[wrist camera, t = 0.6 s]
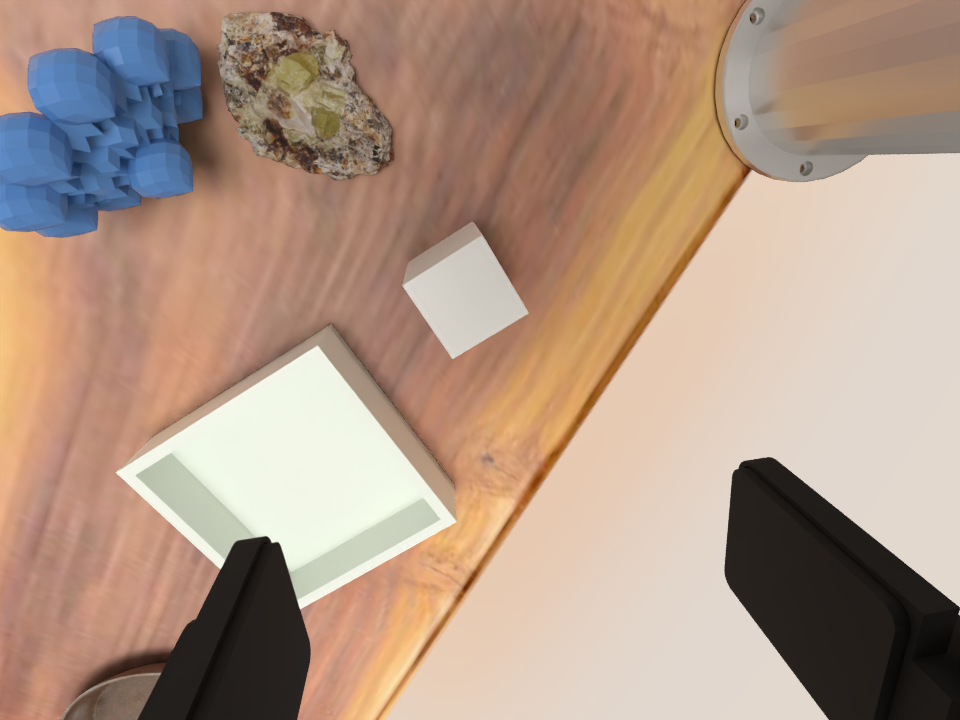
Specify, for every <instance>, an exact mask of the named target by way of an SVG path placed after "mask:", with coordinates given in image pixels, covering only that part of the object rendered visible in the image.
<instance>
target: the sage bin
mask: <svg viewBox="0 0 960 720" xmlns="http://www.w3.org/2000/svg"><path fill="white" fill-rule="evenodd" d="M116 473H117V474H118V475H119V476H120V477H121V478H122V479H123V480H124V481H125V482H127V483H128V484H129V485H130V486H131V487H132V488H133V489H134V490H135V491H136V492H137V493H138V494H140V495H141V496H142V497H143V498H144V499H145V500H146V501H147V502H148V503H149V504H150V505H151V506H153V507H154V508H155V509H156V510H157V511H158V512H159V513H160V514H161V515H162V516H163V517H164V518H166V519H167V520H168V521H169V522H170V523H171V524H172V525H173V526H174V527H175V528H176V529H177V530H178V531H180V532H181V533H182V534H183V535H184V536H185V537H186V538H187V539H188V540H189V541H190V542H191V543H193V544H194V545H195V546H196V547H197V548H198V549H199V550H200V551H201V552H202V553H203V554H204V555H206V556H207V557H208V558H209V559H210V560H211V561H212V562H213V563H214V564H215V565H216V566H217V567H219V568H220V569H221V568H222V566H223V564H224V562H225V560H226V558H227V556H228V554H229V552H230V550H231V548H232V546H233V544H234V543H235V542H236V541H238V540H243V539H250V538H256V537H263V536H267V537H269V538H270V540H271V542H272V543H273V542H279V544H280V545H281V548H282V551H283V554H284V558H285V561H286V564H287V568H288V571H289V574H290V578H291V581H292V584H293V588H294V591H295V594H296V598H297V601H298V604H299V608H300V609H302V608H303V607H305V606H307V605H309V604H310V603H312V602H314V601H316V600H318V599H319V598H321V597H323V596H325V595H327V594H328V593H330V592H332V591H334V590H336V589H337V588H339V587H341V586H343V585H344V584H346V583H348V582H350V581H352V580H353V579H355V578H357V577H359V576H361V575H362V574H364V573H366V572H368V571H370V570H371V569H373V568H375V567H377V566H378V565H380V564H382V563H384V562H386V561H387V560H389V559H391V558H393V557H395V556H396V555H398V554H400V553H402V552H404V551H405V550H407V549H409V548H411V547H412V546H414V545H416V544H418V543H420V542H421V541H423V540H425V539H427V538H429V537H430V536H432V535H434V534H436V533H437V532H439V531H441V530H443V529H445V528H446V527H448V526H450V525H452V524H454V523H455V522H457V518H456V504H455V489H454V484H453V482H452V481H451V480H450V478H449V477H448V476H447V474H446V473H445V472H444V470H443V469H442V468H441V467H440V465H439V464H438V463H437V461H436V460H435V459H434V457H433V456H432V455H431V453H430V452H429V451H428V449H427V448H426V447H425V446H424V444H423V443H422V442H421V440H420V439H419V438H418V436H417V435H416V434H415V432H414V431H413V430H412V429H411V427H410V426H409V425H408V423H407V422H406V421H405V419H404V418H403V417H402V415H401V414H400V413H399V412H398V410H397V409H396V408H395V406H394V405H393V404H392V402H391V401H390V400H389V398H388V397H387V396H386V395H385V393H384V392H383V391H382V389H381V388H380V387H379V385H378V384H377V383H376V381H375V380H374V379H373V378H372V376H371V375H370V374H369V372H368V371H367V370H366V368H365V367H364V366H363V364H362V363H361V362H360V361H359V359H358V358H357V357H356V355H355V354H354V353H353V351H352V350H351V349H350V347H349V346H348V345H347V344H346V342H345V341H344V340H343V338H342V337H341V336H340V334H339V333H338V332H337V330H336V329H335V328H334V327H333V325H332V324H330V325H328V326H327V327H325V328H324V329H322V330H320V331H319V332H317V333H316V334H314V335H312V336H311V337H309V338H308V339H306V340H305V341H303V342H301V343H300V344H298V345H297V346H295V347H294V348H292V349H290V350H289V351H287V352H286V353H284V354H282V355H281V356H279V357H278V358H276V359H275V360H273V361H271V362H270V363H268V364H267V365H265V366H264V367H262V368H260V369H259V370H257V371H256V372H254V373H252V374H251V375H249V376H248V377H246V378H245V379H243V380H241V381H240V382H238V383H237V384H235V385H233V386H232V387H230V388H229V389H227V390H226V391H224V392H222V393H221V394H219V395H218V396H216V397H215V398H213V399H211V400H210V401H208V402H207V403H205V404H203V405H202V406H200V407H199V408H197V409H196V410H194V411H192V412H191V413H189V414H188V415H186V416H185V417H183V418H181V419H180V420H178V421H177V422H175V423H173V424H172V425H170V426H169V427H167V428H166V429H164V430H162V431H161V432H159V433H158V434H156V435H155V436H153V437H152V438H151V439H150V440H149V441H148V442H146V443H145V444H144V445H143V446H142V447H141V448H140V449H139V450H138V451H137V452H136V453H135V454H134V455H133V456H132V457H131V458H130V459H129V460H128V461H127V462H126V463H125V464H124V465H123V466H122V467H121V468H120V469H119V470H118V471H117V472H116Z"/></svg>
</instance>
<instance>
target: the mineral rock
mask: <svg viewBox="0 0 960 720" xmlns="http://www.w3.org/2000/svg"><path fill="white" fill-rule="evenodd" d="M221 25H222V27H221V38H222V40H221V43H220V44H219V45H217V49H218V50H219V53H220V55H221V56H220V61H219V62H218V66H219V73H220V75H221V80H222V82H223V87H224V94H225V97H226V102H227V106H228V108H229V110H228V111H230V112H231V113H232V116H233V117H234V119H235V120H236V121H237V122H239V127H238V128H237V131H238V133H239V135H240V137H241V138H243V139H244V140H245V139H248V140H250V141H251V143H252V147H253V149H254V152H255V155H257V156H260V157H263V156H265V157H267V158H270V159H272V160H274V161H277V162H281V163H284V164H286V165H287V166H290V167H291V166H292V167H293V168H300V169H301V168H303V169H304V170H305V171H306V172H309V173H317V174H320V173H325V174H328V175H329V176H330V177H331V178H332V179H334V180H344V179H346V178H348V179H352V178H353V177H354V176H355V175H356V174H364V175H374V174H377V172H378V169H379V168H381V167H384V166H388V161H389V162H390V161H392V160H393V158H394V155H393V150H392V148H391V138H392V129H391V127H390V125H389V123H388V121H387V119H386V118H385V117H384V116H383V114H382V113H381V112H380V110H379V109H378V108H377V107H376V106H375V105H374V103H373V100H372V99H371V98H370V97H368V96H367V95H366V94H364V93H363V91H362V90H361V88H360V87H359V86H358V85H357V84H356V83H355V80H354V79H355V73H354V72H355V70H354V69H353V68H352V66H350V63H349V60H350V59H351V57H352V54H351V53H350V51H349V47H348V43H347V41H346V40H344V39H341V38H339V37H338V36H337V35H336V32H335V30H332V31H327V32H325V33H322V32H318V31H316V30H313V29H311V28H310V26H309V24H308V23H307V21H306V20H305V19H304V18H302V17H298V16H294V15H290V14H284V13H277V12H271V13H260V12H247V13H236V14H228V15H227V16H225V17H224V18H223V20H222V23H221Z"/></svg>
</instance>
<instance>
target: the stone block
mask: <svg viewBox="0 0 960 720" xmlns="http://www.w3.org/2000/svg"><path fill="white" fill-rule="evenodd" d="M402 286H403V287H404V289H405V290H406V292H407V293H408V295H409V296H410V298H411V299H412V301H413V302H414V303H415V305H416V306H417V308H418V309H419V311H420V312H421V314H422V315H423V317H424V318H425V320H426V321H427V322H428V324H429V325H430V327H431V328H432V330H433V331H434V333H435V334H436V336H437V337H438V339H439V340H440V342H441V343H442V344H443V346H444V347H445V349H446V350H447V352H448V353H449V355H450V356H451V358H452V359H454V358H455V357H457V356H459V355H460V354H462V353H464V352H465V351H467V350H469V349H470V348H472V347H474V346H475V345H477V344H479V343H480V342H482V341H484V340H485V339H487V338H489V337H490V336H492V335H494V334H495V333H497V332H499V331H500V330H502V329H504V328H505V327H507V326H509V325H510V324H512V323H514V322H515V321H517V320H518V319H520V318H522V317H523V316H525V315H527V314H528V311H527V309H526V307H525V306H524V304H523V302H522V301H521V299H520V297H519V296H518V294H517V292H516V291H515V289H514V287H513V286H512V284H511V282H510V280H509V279H508V277H507V275H506V274H505V272H504V270H503V269H502V267H501V265H500V264H499V262H498V260H497V259H496V257H495V255H494V253H493V252H492V250H491V248H490V247H489V245H488V243H487V242H486V240H485V238H484V237H483V235H482V233H481V232H480V231H479V229H478V228H477V226H476V225H475V223H474V222H473V221H472V222H470V223H469V224H467V225H466V226H464V227H462V228H461V229H459V230H458V231H456V232H455V233H453V234H451V235H450V236H448V237H447V238H445V239H444V240H442V241H440V242H439V243H437V244H436V245H434V246H433V247H431V248H429V249H428V250H426V251H425V252H423V253H422V254H420V255H418V256H417V257H415V258H414V259H412V260H411V261H409V262H408V265H407V269H406V273H405V277H404V281H403V285H402Z"/></svg>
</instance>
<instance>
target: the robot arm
mask: <svg viewBox="0 0 960 720" xmlns="http://www.w3.org/2000/svg"><path fill="white" fill-rule="evenodd" d="M750 17H751V19H752V21H751V22H750ZM715 99H716V107H717V115H718V119H719V122H720V125H721V128H722V132H723V135H724V137H725V138H726V140H727V142H728V144H729V145H730V147H731V149H732V151H733V152H734V153H735V154H736V155H737V156H738V157H739V159H740V160H741V161H742V162H743V163H744V164H745V165H747V166H748V167H750V168H751V169H752V170H754V171H755V172H757V173H759V174H761V175H764V176H766V177H769V178H772V179H775V180H783V181H790V182H808V181H814V180H819V179H824V178H827V177H830V176H833V175H835V174H838V173H841V172H843V171H845V170H847V169H848V168H850V167H852V166H853V165H855V164H856V163H858V162H860V161H861V160H863V159H864V158H865V157H866V156H868V155H874V154H924V153H925V154H929V153H960V0H746V2H745V3H744V4H743V6H742V7H741V9H740V10H739V12H738V14H737V16H736V18H735V19H734V21H733V23H732V25H731V27H730V28H729V31H728V34H727V36H726V39H725V42H724V44H723V47H722V50H721V53H720V58H719V63H718V67H717V72H716V88H715ZM735 120H736V121H737V124H736V126H735V123H734V122H735ZM725 577H726V580H727V583H728V585H729V587H730V588H731V590H732V591H733V592H734V594H735V595H736V597H737V598H738V599H739V601H740V602H741V603H742V605H743V606H744V607H745V608H746V610H747V611H748V612H749V614H750V615H751V617H752V618H753V619H754V621H755V622H756V623H757V624H758V626H759V627H760V629H761V630H762V631H763V633H764V634H765V635H766V637H767V638H768V639H769V640H770V642H771V643H772V645H773V646H774V647H775V649H776V650H777V651H778V653H779V654H780V655H781V656H782V658H783V659H784V661H785V662H786V663H787V664H788V666H789V667H790V669H791V670H792V671H793V672H794V674H795V675H796V676H797V678H798V679H799V681H800V682H801V683H802V684H803V686H804V687H805V689H806V690H807V691H808V692H809V694H810V695H811V697H812V698H813V699H814V701H815V702H816V703H817V705H818V706H819V707H820V708H821V710H822V711H823V712H824V714H825V715H826V717H827V718H828V719H829V720H960V615H958V613H959V610H960V607H959V606H957V605H956V604H955V603H953V602H952V601H951V600H950V599H948V598H947V597H946V596H945V595H944V594H942V593H941V592H940V591H939V590H937V589H936V588H935V587H934V586H932V585H931V584H930V583H929V582H927V581H926V580H925V579H924V578H923V577H921V576H920V575H919V574H918V573H916V572H915V571H914V570H912V569H911V568H910V567H909V566H907V565H906V564H905V563H904V562H903V561H901V560H900V559H899V558H898V557H896V556H895V555H894V554H893V553H891V552H890V551H889V550H888V549H886V548H885V547H884V546H883V545H881V544H880V543H879V542H878V541H877V540H875V539H874V538H873V537H871V536H870V535H869V534H868V533H867V532H865V531H864V530H863V529H862V528H860V527H859V526H858V525H857V524H855V523H854V522H853V521H851V520H850V519H849V518H848V517H847V516H845V515H844V514H843V513H842V512H840V511H839V510H838V509H837V508H835V507H834V506H833V505H832V504H830V503H829V502H828V501H827V500H825V499H824V498H823V497H822V496H820V495H819V494H818V493H817V492H816V491H814V490H813V489H812V488H810V487H809V486H808V485H807V484H805V483H804V482H803V481H802V480H801V479H799V478H798V477H797V476H796V475H794V474H793V473H792V472H791V471H789V470H788V469H787V468H786V467H784V466H783V465H782V464H780V463H779V462H778V461H777V460H775V459H773V458H770V457H767V458H760V459H754V460H747V461H743V462H742V463H741V464H740V465H739V469H737V470H735V471H734V472H733V475H732V485H731V498H730V509H729V521H728V533H727V545H726V557H725ZM310 655H311V650H310V642H309V638H308V634H307V631H306V628H305V624H304V621H303V618H302V614H301V611H300V608H299V604H298V601H297V598H296V594H295V591H294V588H293V584H292V581H291V578H290V574H289V571H288V568H287V564H286V561H285V558H284V554H283V551H282V548H281V545H280V544H279V542H273V543H272V542H271V540H270V538H269V537H267V536H263V537H256V538H250V539H243V540H238V541H236V542H235V543H234V544H233V546H232V548H231V550H230V552H229V554H228V556H227V558H226V560H225V562H224V564H223V566H222V568H221V570H220V572H219V574H218V576H217V578H216V580H215V582H214V584H213V586H212V588H211V590H210V592H209V594H208V596H207V598H206V600H205V602H204V604H203V606H202V608H201V610H200V612H199V614H198V616H197V618H196V620H192V621H191V622H190V623H189V624H187V626H186V627H185V629H184V630H183V632H182V634H181V635H180V637H179V639H178V641H177V643H176V645H175V647H174V649H173V651H172V653H171V655H170V657H169V659H168V661H167V663H166V665H165V667H164V669H163V671H162V673H161V674H160V676H159V678H158V680H157V682H156V684H155V686H154V688H153V690H152V692H151V694H150V696H149V698H148V700H147V702H146V704H145V706H144V708H143V710H142V712H141V714H140V715H139V717H138V719H137V720H297V718H298V713H299V709H300V704H301V700H302V695H303V691H304V686H305V682H306V677H307V672H308V668H309V663H310Z"/></svg>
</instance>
